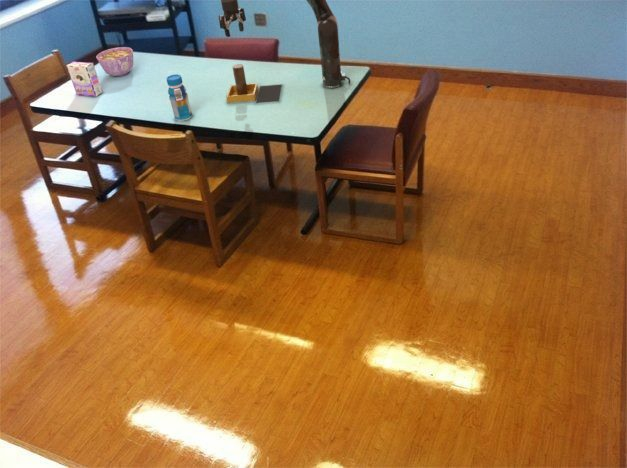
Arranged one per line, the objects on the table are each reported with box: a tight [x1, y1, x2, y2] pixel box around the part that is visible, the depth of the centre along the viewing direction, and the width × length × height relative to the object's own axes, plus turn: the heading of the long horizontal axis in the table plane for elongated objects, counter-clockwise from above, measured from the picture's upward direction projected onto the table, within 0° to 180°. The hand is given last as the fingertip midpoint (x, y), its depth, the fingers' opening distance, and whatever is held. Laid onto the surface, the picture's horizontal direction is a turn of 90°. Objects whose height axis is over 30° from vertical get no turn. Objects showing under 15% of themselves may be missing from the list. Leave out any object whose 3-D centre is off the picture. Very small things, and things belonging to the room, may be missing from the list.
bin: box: [226, 82, 259, 103], centre depth 293 cm, size 14×14×4 cm
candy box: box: [65, 61, 103, 98], centre depth 312 cm, size 14×6×16 cm, turn 65°
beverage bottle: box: [166, 73, 193, 122], centre depth 276 cm, size 8×8×20 cm
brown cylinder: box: [232, 63, 248, 95], centre depth 290 cm, size 5×5×15 cm
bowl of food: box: [95, 46, 134, 77], centre depth 333 cm, size 20×20×12 cm
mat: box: [255, 84, 283, 104], centre depth 293 cm, size 11×20×1 cm, turn 178°
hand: (235, 33), depth 286 cm, fingers open, 8 cm apart
